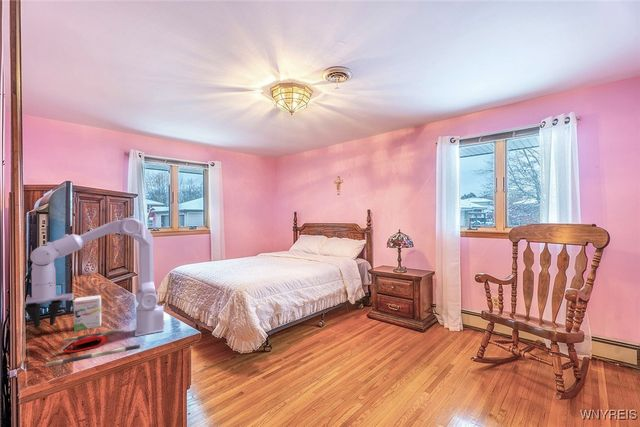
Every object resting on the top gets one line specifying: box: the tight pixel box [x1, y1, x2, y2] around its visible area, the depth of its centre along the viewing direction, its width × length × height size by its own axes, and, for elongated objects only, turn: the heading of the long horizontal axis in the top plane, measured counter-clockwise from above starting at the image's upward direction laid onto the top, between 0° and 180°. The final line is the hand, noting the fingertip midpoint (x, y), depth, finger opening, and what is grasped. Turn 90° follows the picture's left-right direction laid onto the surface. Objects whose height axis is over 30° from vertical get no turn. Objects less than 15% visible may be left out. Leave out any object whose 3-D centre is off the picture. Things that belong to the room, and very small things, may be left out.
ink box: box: [73, 294, 102, 332], centre depth 120 cm, size 8×5×12 cm, turn 122°
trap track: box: [44, 328, 141, 368], centre depth 104 cm, size 24×21×1 cm
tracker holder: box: [60, 334, 108, 354], centre depth 102 cm, size 12×4×10 cm
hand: (44, 325), depth 97 cm, fingers open, 3 cm apart
